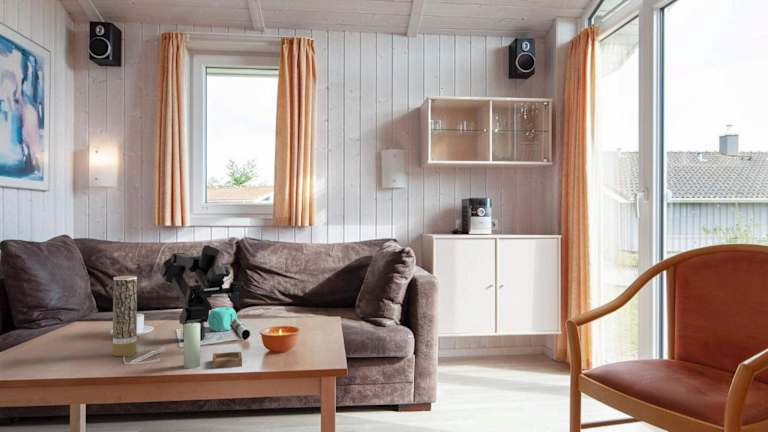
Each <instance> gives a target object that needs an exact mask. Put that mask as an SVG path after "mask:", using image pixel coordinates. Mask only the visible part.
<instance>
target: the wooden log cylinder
mask: <svg viewBox="0 0 768 432" xmlns="http://www.w3.org/2000/svg"><path fill="white" fill-rule="evenodd" d="M112 283H113V284H112V285H113V287H112V288H113V289H112V290H113V291H112V304H113V305H112V354H113V356H114V357H123V356H125V357H128V356H127V355H129V356H134V355H133V354H135V355H136V354H137V353H136V352H137V341H138V340H137V339H138V337H137V330H138V328H137V326H138V324H137V322H138V320H137V319H138V318H137V317H138V314H137V313H138V310H137V309H138V307H137V306H138V276H135V275H120V276H114V277H113V282H112Z"/></svg>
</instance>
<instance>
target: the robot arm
mask: <svg viewBox="0 0 768 432" xmlns="http://www.w3.org/2000/svg"><path fill="white" fill-rule="evenodd" d="M219 256H220V250H219V249H218V248H216V247H213V246H211V245H210V244H209V245H208V244H207V245H203V248H202V249H201V252H200V256H199V255H198V256H196V255H195V256H193V255H190V254H188V253H184V252H174V253H172V254H170V257H168V259H166V260H165V261H164V262H163V263H162V265H161V267H160V269H159V271H160V277H162V279H163V281H165V282H166V283H168V284H171V285H172V286H173V288H174V290H175V293H177V296H178V297H179V299H180V301H181V302H182V304H183V307H182V310H181V312H180V315H179V317H178V318H179V321H178V322H179V324H180V325H183V332H182V334H183V335H182V338H183V339H180V340H181V342H184V324H187V323H192V322H193V323H200V340H201V339H202V340H204V339H205V338H206V326H205V325H204V324H205V323H208V317H209V314H210V311H212V310H213V307H212V304H211V303H210V301H209V298H217V297H220V296H227V297H228V299H229V301H230V302H231V303H232V304H233V305H234V306H235V307H236V308H239V307H240V301H239V300H240V298H242V295H243V294H242V293H243V291H244V287H245V284H244V283H243V281H231V282H229V286H228V287H225V288H224V287H223V286H224V285H225V281H224V279H225V278H228V277H229V276H230V274H231V270H230V268H229V267H228V266H223V265H222V266H217V263H218V259H219ZM186 271H187V272H188V273H190V274H191V273H192V274H193V273H194V276H195V278H194V283H195V284H197V285H195V284H194V285H189V283H188V282H187V280H186V278H185V274H186ZM204 337H205V338H204ZM203 338H204V339H203ZM202 340H201V341H202Z"/></svg>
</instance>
